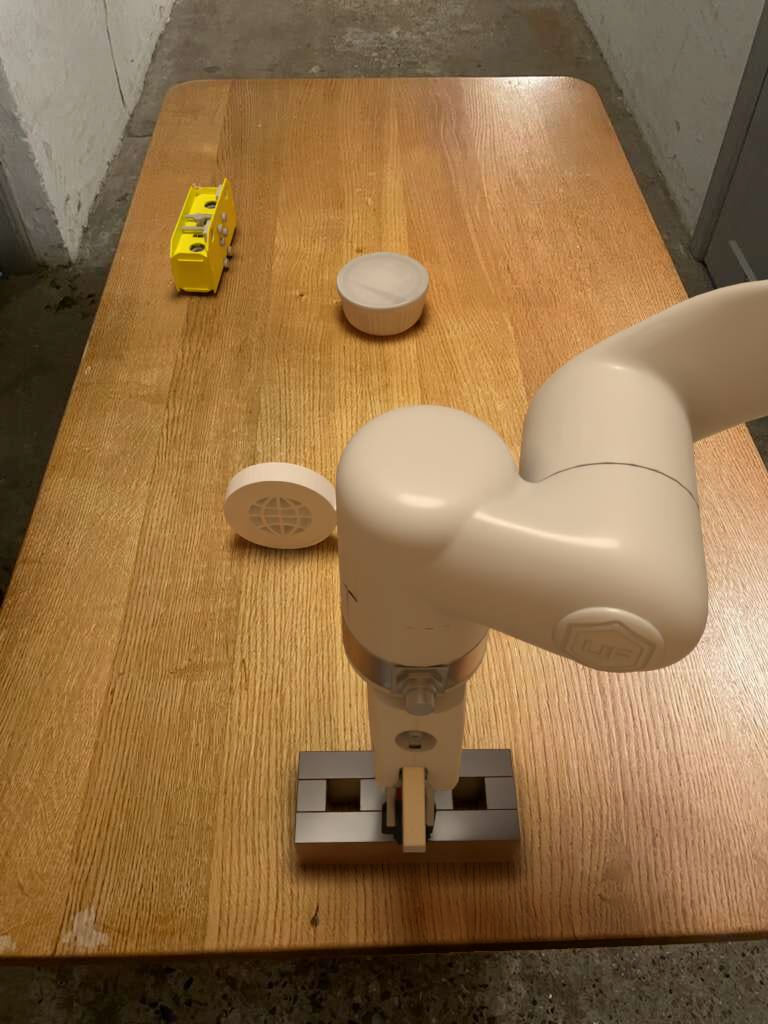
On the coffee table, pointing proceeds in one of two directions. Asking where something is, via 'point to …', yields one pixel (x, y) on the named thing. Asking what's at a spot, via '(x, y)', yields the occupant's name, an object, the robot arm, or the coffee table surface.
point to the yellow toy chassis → (203, 238)
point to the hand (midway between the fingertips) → (404, 755)
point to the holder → (354, 782)
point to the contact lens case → (281, 505)
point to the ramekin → (382, 292)
